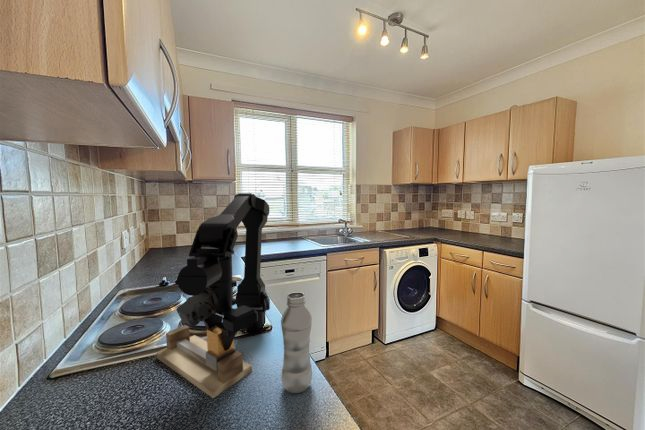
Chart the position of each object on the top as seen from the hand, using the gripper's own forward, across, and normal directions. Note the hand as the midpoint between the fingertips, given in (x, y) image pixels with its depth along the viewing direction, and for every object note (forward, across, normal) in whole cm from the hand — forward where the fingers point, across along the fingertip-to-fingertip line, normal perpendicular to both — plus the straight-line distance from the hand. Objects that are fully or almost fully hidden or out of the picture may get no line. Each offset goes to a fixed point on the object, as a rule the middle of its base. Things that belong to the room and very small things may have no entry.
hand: (220, 346), depth 59 cm
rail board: (+7, -8, 0) cm, 10 cm away
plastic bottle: (+7, +16, +7) cm, 19 cm away
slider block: (+4, 0, 0) cm, 4 cm away
